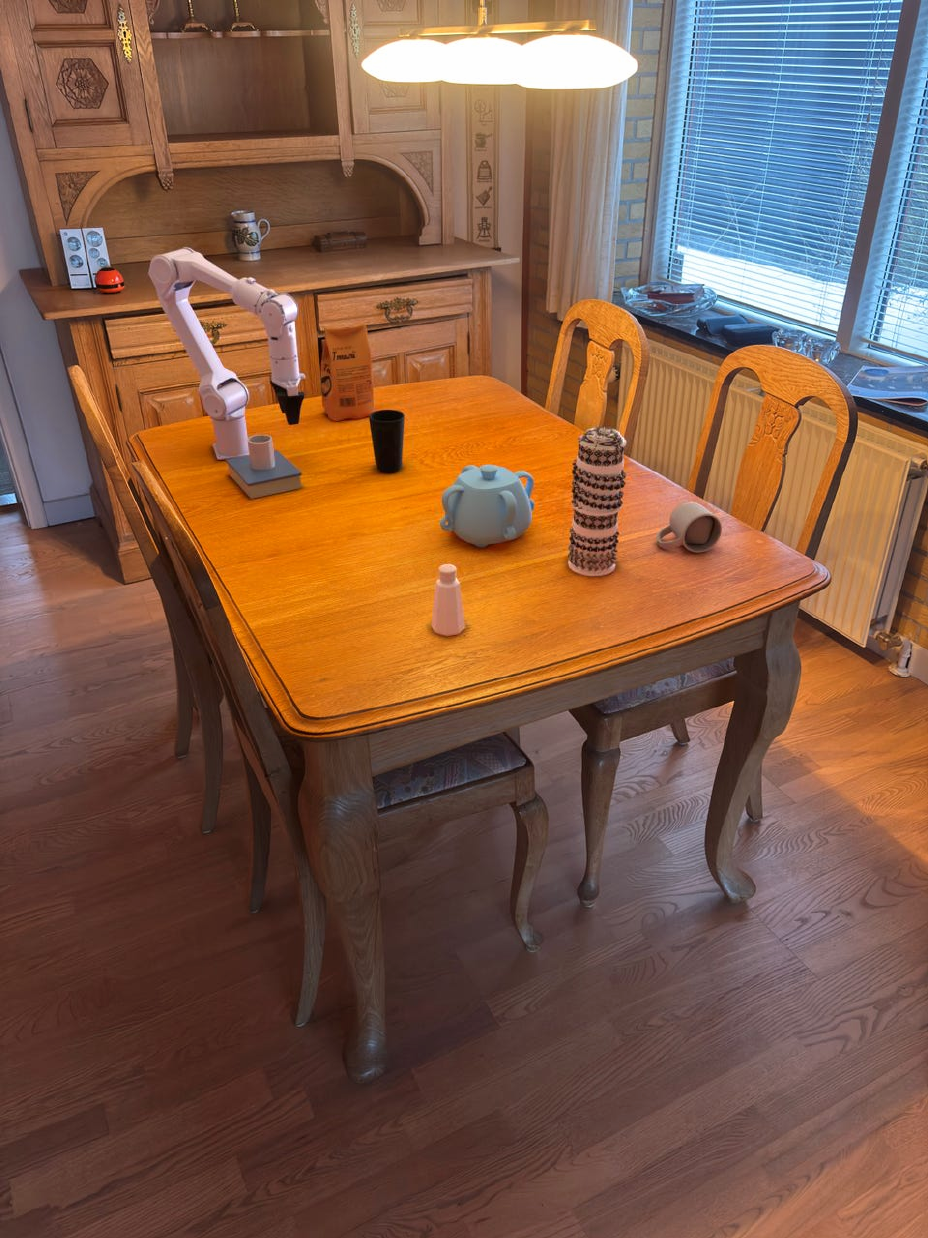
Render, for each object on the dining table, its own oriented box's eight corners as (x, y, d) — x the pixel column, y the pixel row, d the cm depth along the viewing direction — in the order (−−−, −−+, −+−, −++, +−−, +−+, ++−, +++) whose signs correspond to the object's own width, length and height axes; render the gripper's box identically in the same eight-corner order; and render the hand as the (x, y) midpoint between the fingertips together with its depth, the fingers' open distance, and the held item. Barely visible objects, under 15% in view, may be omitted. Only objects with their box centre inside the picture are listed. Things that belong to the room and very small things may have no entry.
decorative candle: (555, 562, 168) (562, 430, 154) (592, 548, 172) (602, 418, 159) (590, 582, 162) (601, 446, 148) (627, 567, 166) (642, 433, 153)
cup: (409, 462, 207) (407, 410, 201) (403, 475, 201) (401, 422, 195) (375, 460, 208) (372, 408, 202) (368, 474, 202) (365, 421, 195)
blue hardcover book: (227, 475, 201) (225, 459, 199) (278, 464, 206) (277, 449, 204) (250, 499, 191) (247, 483, 189) (303, 488, 195) (301, 472, 194)
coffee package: (319, 410, 236) (311, 322, 224) (366, 404, 240) (361, 317, 228) (330, 423, 228) (323, 333, 216) (378, 416, 232) (374, 327, 221)
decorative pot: (510, 560, 168) (513, 491, 161) (431, 543, 174) (430, 475, 167) (542, 524, 181) (545, 458, 174) (467, 509, 187) (467, 445, 179)
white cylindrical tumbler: (249, 463, 198) (245, 436, 195) (272, 460, 199) (269, 433, 196) (253, 471, 194) (249, 444, 191) (277, 468, 195) (273, 441, 192)
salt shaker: (450, 614, 153) (449, 555, 147) (472, 628, 149) (472, 568, 143) (424, 626, 150) (422, 566, 144) (446, 640, 146) (445, 579, 140)
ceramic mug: (700, 531, 178) (705, 494, 174) (719, 550, 171) (725, 512, 167) (648, 537, 176) (652, 500, 172) (666, 557, 169) (670, 519, 165)
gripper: (309, 363, 190) (315, 427, 197) (295, 344, 201) (301, 405, 208) (275, 366, 188) (282, 431, 195) (263, 347, 199) (270, 409, 206)
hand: (290, 418), depth 202 cm, fingers open, 7 cm apart
